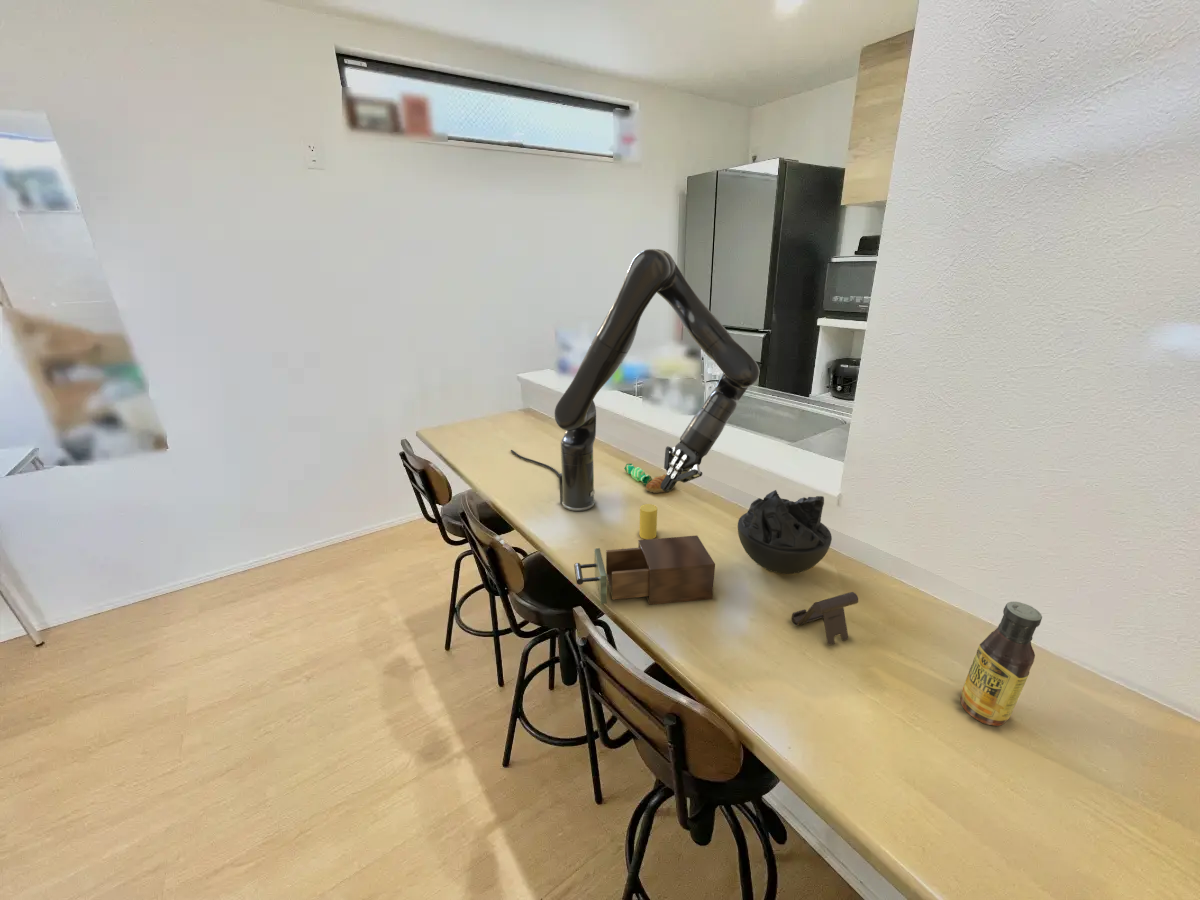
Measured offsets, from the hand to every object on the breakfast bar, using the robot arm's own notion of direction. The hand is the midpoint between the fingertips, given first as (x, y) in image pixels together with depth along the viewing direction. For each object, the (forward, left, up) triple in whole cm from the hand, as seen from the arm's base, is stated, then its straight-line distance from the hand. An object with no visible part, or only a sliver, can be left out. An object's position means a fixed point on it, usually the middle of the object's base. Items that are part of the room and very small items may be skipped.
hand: (664, 490), depth 122 cm
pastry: (-16, +26, -14) cm, 34 cm away
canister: (-4, -1, -14) cm, 14 cm away
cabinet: (+12, -16, -14) cm, 24 cm away
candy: (-26, +28, -14) cm, 41 cm away
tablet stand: (+42, -11, -14) cm, 46 cm away
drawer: (+3, -25, -13) cm, 28 cm away
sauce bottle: (+67, -16, -14) cm, 70 cm away
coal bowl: (+28, +5, -14) cm, 32 cm away
